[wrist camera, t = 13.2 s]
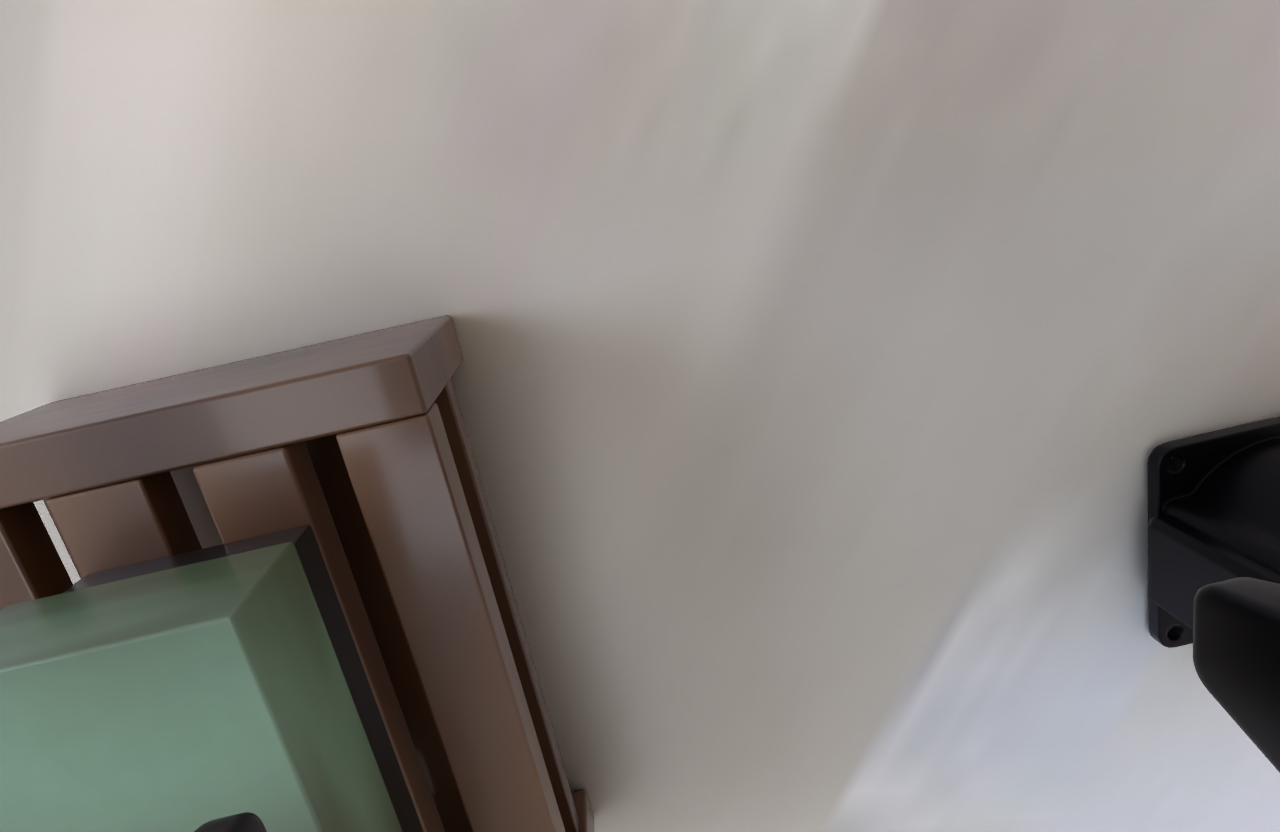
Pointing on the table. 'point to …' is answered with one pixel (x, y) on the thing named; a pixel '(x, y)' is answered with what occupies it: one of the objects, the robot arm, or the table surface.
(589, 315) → the table surface
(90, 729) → the green rectangular block
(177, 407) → the rack
